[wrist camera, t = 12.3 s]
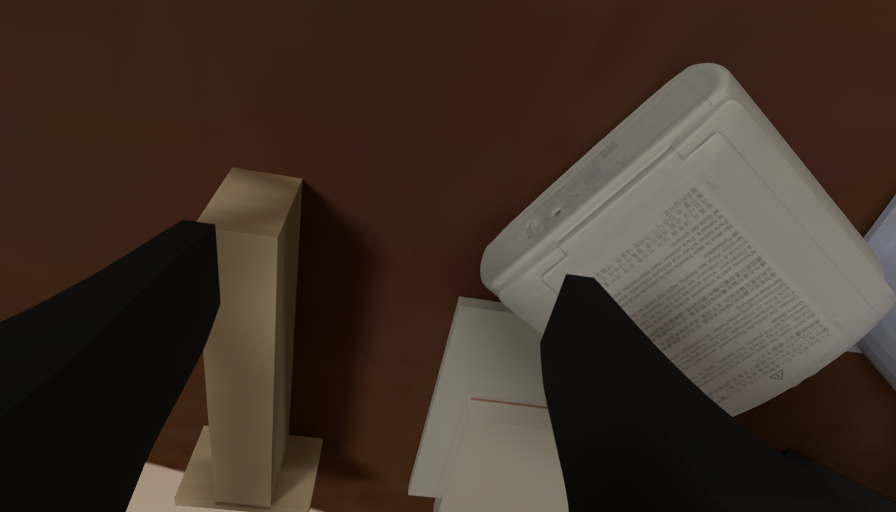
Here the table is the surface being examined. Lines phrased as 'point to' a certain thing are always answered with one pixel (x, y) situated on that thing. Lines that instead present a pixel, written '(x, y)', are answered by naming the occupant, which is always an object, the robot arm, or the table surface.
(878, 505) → the grey red panelled box
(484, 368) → the mat
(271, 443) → the tan wooden slat
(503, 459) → the tile
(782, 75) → the table surface
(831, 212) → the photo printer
